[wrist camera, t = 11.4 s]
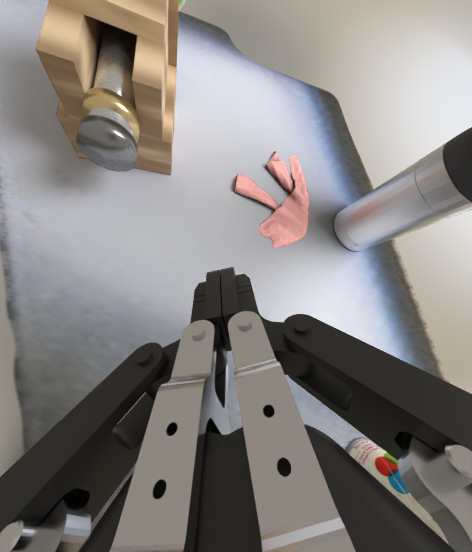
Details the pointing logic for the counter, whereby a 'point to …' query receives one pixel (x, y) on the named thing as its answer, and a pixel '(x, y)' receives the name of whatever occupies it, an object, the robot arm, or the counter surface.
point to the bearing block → (146, 73)
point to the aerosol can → (389, 477)
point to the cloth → (293, 211)
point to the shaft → (111, 105)
